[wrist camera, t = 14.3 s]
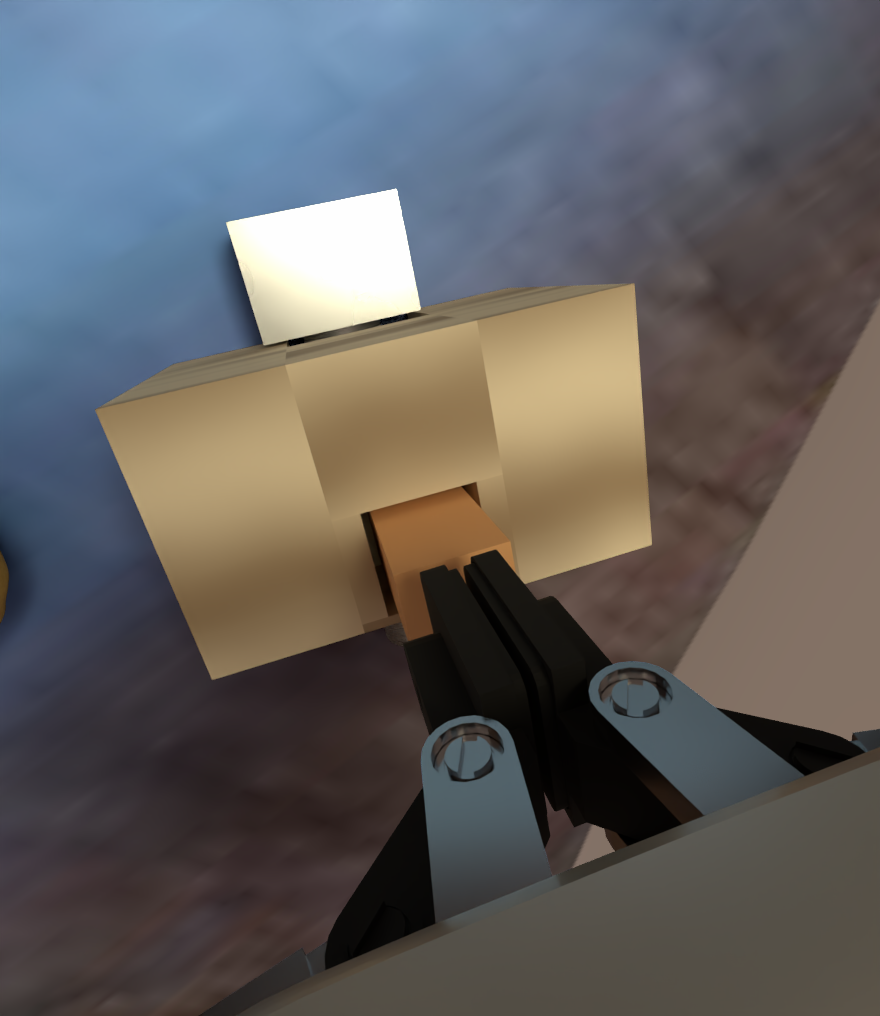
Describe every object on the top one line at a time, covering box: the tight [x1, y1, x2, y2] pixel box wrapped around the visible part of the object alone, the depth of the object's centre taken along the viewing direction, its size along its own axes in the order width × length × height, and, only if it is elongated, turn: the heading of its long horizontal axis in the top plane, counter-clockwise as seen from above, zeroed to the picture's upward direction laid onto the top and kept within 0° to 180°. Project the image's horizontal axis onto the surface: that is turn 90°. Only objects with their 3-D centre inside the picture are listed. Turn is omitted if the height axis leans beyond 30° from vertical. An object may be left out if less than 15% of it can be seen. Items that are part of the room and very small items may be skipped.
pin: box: [226, 189, 421, 646], centre depth 24 cm, size 18×6×3 cm, turn 12°
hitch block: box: [95, 284, 652, 680], centre depth 21 cm, size 8×14×10 cm, turn 102°
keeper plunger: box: [367, 486, 516, 641], centre depth 17 cm, size 3×3×7 cm
